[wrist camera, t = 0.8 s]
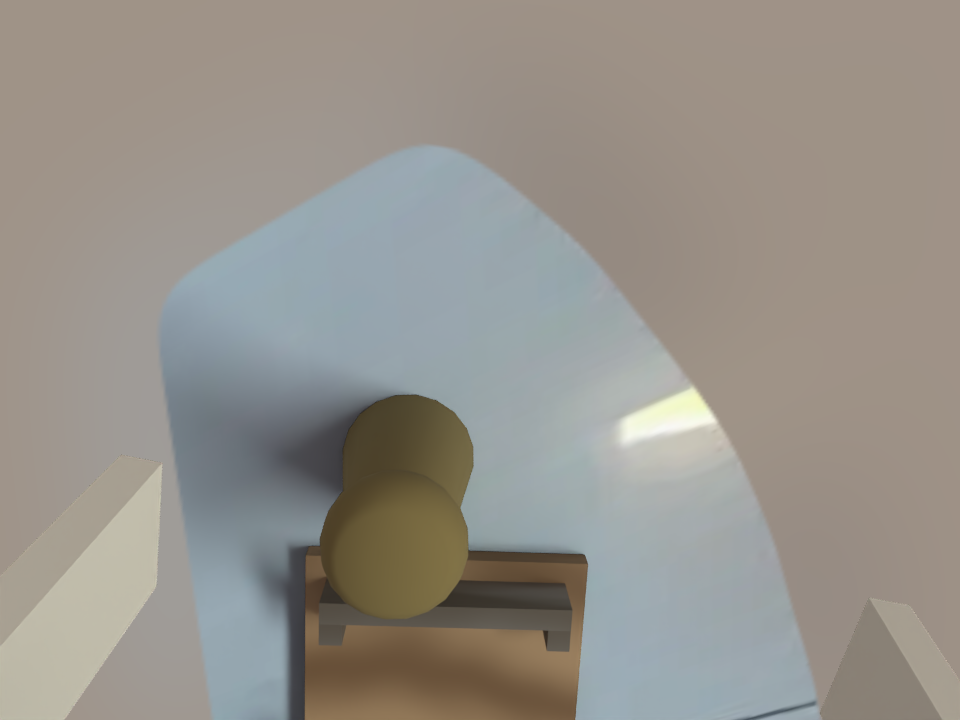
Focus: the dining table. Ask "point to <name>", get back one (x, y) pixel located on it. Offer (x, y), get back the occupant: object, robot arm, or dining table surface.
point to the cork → (399, 509)
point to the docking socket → (452, 646)
